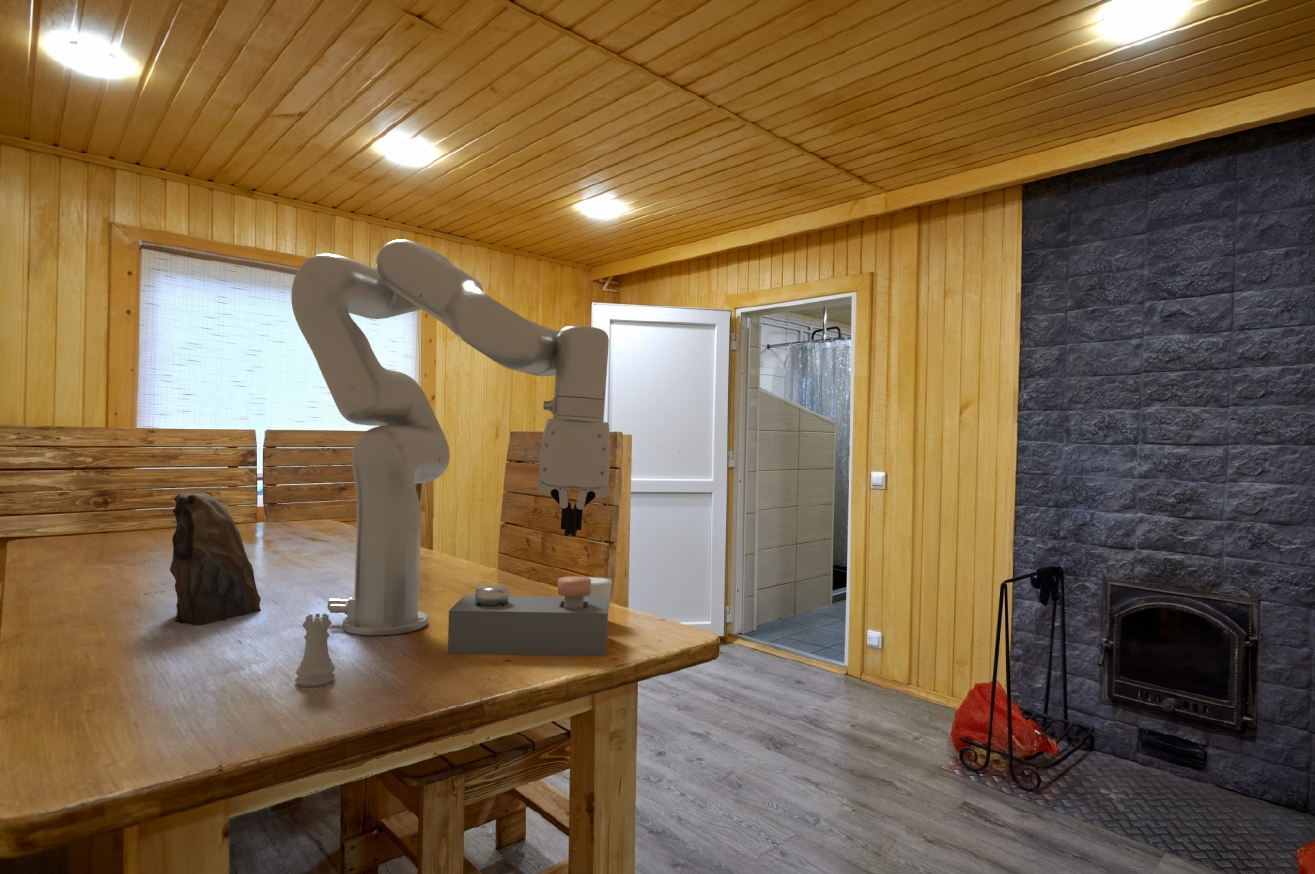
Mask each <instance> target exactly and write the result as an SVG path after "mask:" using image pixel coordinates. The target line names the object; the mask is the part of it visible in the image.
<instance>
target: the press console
mask: <svg viewBox="0 0 1315 874" xmlns="http://www.w3.org/2000/svg"><path fill="white" fill-rule="evenodd" d="M564 599H565V596H543V595H542V596H537V595H536V596H533V595H509V601H508V603H506V604H502V605H501V606H482V605H479V604H476V603H475V594H464V595H462V597H461V598H459V600H458V601H457V602H456V603H455V604H454V605H453V606H452V607H450V609H449V610H448V629H447V634H448V635H447V654H449V655H450V654H451V655H453V654H454V655H458V654H459V655H463V654H464V655H505V656H506V655H513V656H514V655H515V656H517V655H518V656H519V655H520V656H575V657H578V656H579V657H580V656H581V657H583V656H585V657H586V656H587V657H607V645H608V628H609V627H608V626H609V625H608V623H609V621H608V620H609V611H608V598H598V597H584V602H583V608H564Z"/></svg>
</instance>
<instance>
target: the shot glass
mask: <svg viewBox="0 0 1315 874" xmlns="http://www.w3.org/2000/svg"><path fill="white" fill-rule="evenodd" d="M585 577H586V578H590V579H591V594H590V595H587V596H584V597H598V598H608V612H609V610H610V609H609V608H610V602H611V592H612V585H613V579H610V578H608V577H603V576H585Z"/></svg>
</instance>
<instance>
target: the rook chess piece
mask: <svg viewBox="0 0 1315 874" xmlns="http://www.w3.org/2000/svg"><path fill="white" fill-rule="evenodd" d="M320 615H321V614H320V613H315V615H314V617H313V614H308V615H307V616H305V621H304V622H302V627H303V629H304V630H305V632H306V633H305V635H304V636H303V638H304V639H305V648H304V652H303V653H304V654H303V656H302V660H301V661H300V663H299V664H300V665H299V666H298V667H297V668H296V672H295V674H296V675H297V677H295V681H294V682H295V683H296V684H297V686H298V685H299V687H302V688H315V687H323V686H326V685H329V684H330V683H332V682H333V681H334V680H335V678H336V674H335V673H334V671H335V670H336V667H335V665H334V663H333V662H332V659H331V658H330V654H329V647H328V646H329V645H328V638H329V637H330V634H329V633H328V631H329V630H328V629H329V628H330V626H331V625H332V621H331V620H330V619H329V614H327V613H322V615H321V616H320Z"/></svg>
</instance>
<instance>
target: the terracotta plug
mask: <svg viewBox="0 0 1315 874" xmlns="http://www.w3.org/2000/svg"><path fill="white" fill-rule="evenodd" d="M586 577H587V576H563V577H559V578H558V579H557V594H558V595H559V596H561V597H565V599H564V608H583V602H584V596H587V595H590V594H591V579H590V578H586Z"/></svg>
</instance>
